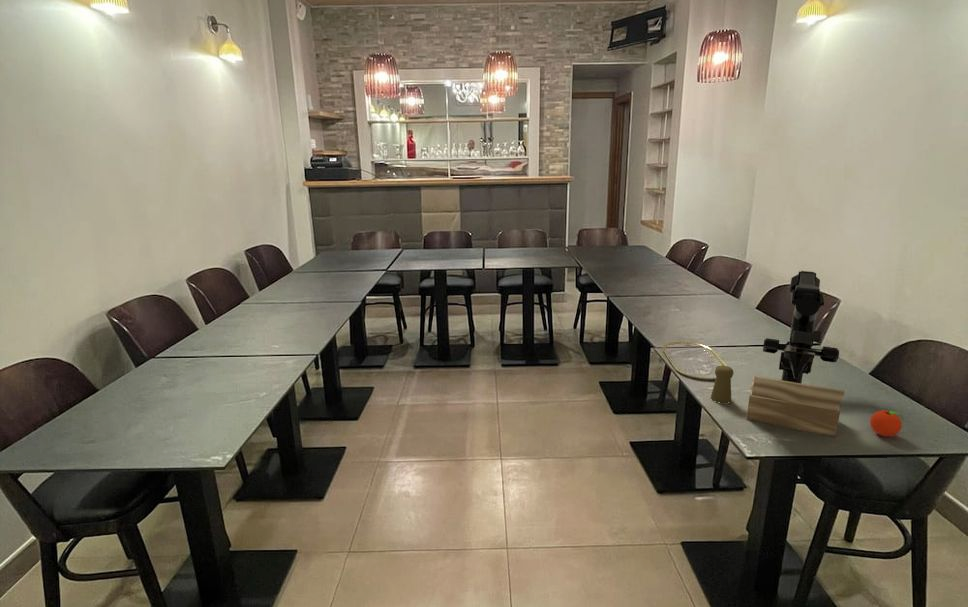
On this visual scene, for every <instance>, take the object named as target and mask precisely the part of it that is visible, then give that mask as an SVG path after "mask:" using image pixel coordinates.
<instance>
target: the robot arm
mask: <svg viewBox="0 0 968 607" xmlns="http://www.w3.org/2000/svg"><path fill="white" fill-rule="evenodd" d="M820 284H821V279H820V278H818V277H817V273H816V272H814V271H809V270H799V271H798V273H797V275H794V276H792V277H791V279H790V285H789V293H791V294H790V300H791V301H790V305H793V306H794V310H793V312H792V320H791V326H790V335H789V341H787V342H786V343H780V339H774V338H769V337H766V338H765V339H764V340H763V346H762V352H764V353H768V354H769V353H770V354H776V353H778V352H779V351H780V357H779V364H778V371H780V370H782V375H781V380H783V381H789V382H795V383H800V384H803V383H802V382H803V375H804V374H806V375H809V374H811V372H812V366H813V363H814V359H815V356H817V357H820V359H821V361H823V362H827V363H828V362H829V363H837V361H838V359H839V358H840V357H839V356H840V350H839V349H838V348H837V347H831V346H825V345H824V346H822V348H821V349H818V348H813V346H814V343H821V338H822V331H821V330H815V325H816V324H815V322H816V318H817V315H818V312H819V309H820V308H822V306H825V297H824V295H823V292H821V288H820V286H821V285H820Z"/></svg>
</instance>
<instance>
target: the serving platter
mask: <svg viewBox="0 0 968 607" xmlns="http://www.w3.org/2000/svg"><path fill="white" fill-rule="evenodd" d="M681 343H684V344H685V343H686V344H695V345H699V346H702V347H704V348H706V349H708V350H709V351H711V352H712V354H713V355H714V356H715V358H717V360H719V362H720V363H721V364H722V365H723V366H727V364H726V363H725V362H724V361H723V359H721V358H720V356H718V354H717V353H716V352H715V351H714V350H713V349H712V348H710V347H709V346H706V345H703V344H701V343H696V342H691V341H690V342H689V341H671V342H668V343H665V344H664V345H662V351H663V353H664V354H665V356H666V357H667V359H668V360H669V363H671V365H672V366H673V368H674V370H676V372H677V373H679V374H680V375H682V374H683V376H685V375H686V377H687V376H689V377H688V378H690V377H692V378H691V379H694V378H696V379H695V380H700V379H703V381H715V380H716V377H703V376H702V377H701V376H696V375H691V374H688V373H685V372H683V371H681V370H679V369H677V368H678V367H677V366H676V367H677V368H676V367H675V365H676V364H675V363H674V361H673V360H672V358H671V357H670V355H669V354H668V352H667V351H666V352H667V353H666V352H665V348H666V347H667V346H668V345H669V346H670V345H674V344H681ZM667 354H668V355H669V356H668V355H667ZM669 357H670V358H671V359H670V358H669ZM671 360H672V361H673V362H672V361H671ZM673 363H674V364H675V365H674V364H673Z"/></svg>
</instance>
